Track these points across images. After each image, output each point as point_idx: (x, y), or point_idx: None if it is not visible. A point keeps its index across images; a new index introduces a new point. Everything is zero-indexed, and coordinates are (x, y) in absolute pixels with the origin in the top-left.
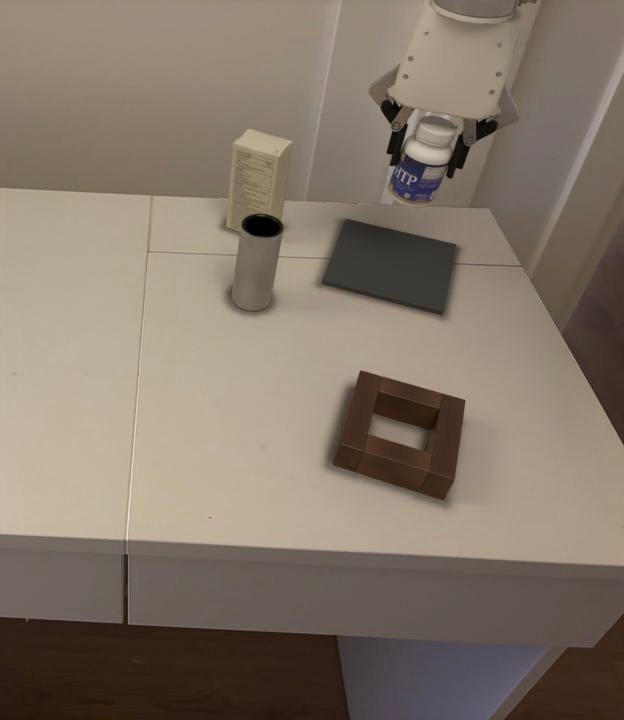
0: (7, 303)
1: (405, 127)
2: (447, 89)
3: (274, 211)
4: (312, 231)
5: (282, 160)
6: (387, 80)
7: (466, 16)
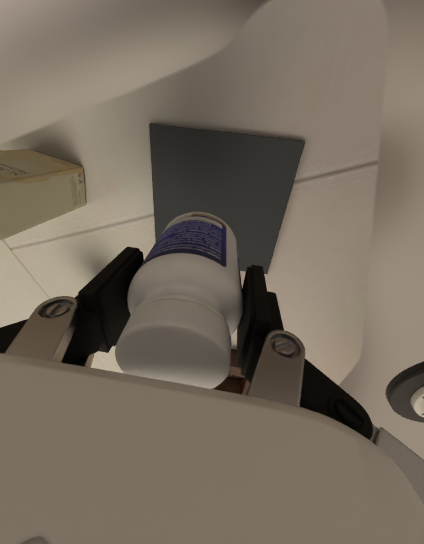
0: None
1: (101, 319)
2: None
3: (59, 207)
4: (120, 164)
5: None
6: None
7: None
